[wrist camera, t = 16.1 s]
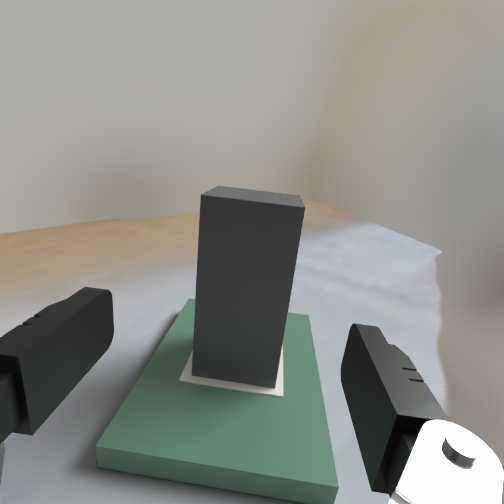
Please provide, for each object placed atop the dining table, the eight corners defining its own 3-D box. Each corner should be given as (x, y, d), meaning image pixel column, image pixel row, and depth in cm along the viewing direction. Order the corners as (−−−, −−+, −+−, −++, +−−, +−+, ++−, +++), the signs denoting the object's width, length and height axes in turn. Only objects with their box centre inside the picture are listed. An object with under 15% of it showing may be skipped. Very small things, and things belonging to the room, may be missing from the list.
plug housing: (275, 388, 20) (305, 207, 16) (191, 375, 20) (201, 194, 16) (276, 344, 24) (299, 195, 20) (208, 334, 24) (218, 185, 21)
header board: (332, 508, 15) (357, 423, 13) (96, 467, 15) (90, 380, 14) (306, 328, 30) (315, 278, 28) (188, 311, 30) (190, 261, 29)
